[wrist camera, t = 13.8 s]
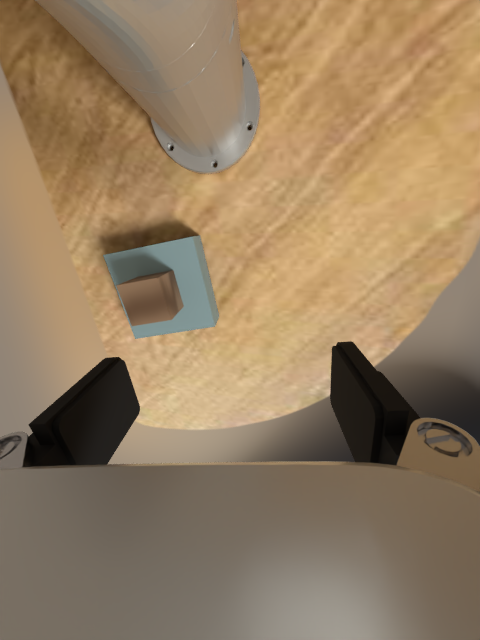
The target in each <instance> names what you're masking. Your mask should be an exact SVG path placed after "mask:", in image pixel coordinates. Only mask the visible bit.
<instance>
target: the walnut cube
mask: <svg viewBox="0 0 480 640" xmlns="http://www.w3.org/2000/svg"><path fill="white" fill-rule="evenodd" d="M116 287H117V289H118V292H119V294H120V297H121V300H122V302H123V305H124V307H125V310H126V313H127V315H128V318H129V321H130V323H131V326H137V325H143V324H149V323H156V322H162V321H168V320H172V319H173V318H174V317H175V316H176V314H177V313H178V312H179V311H180V310H181V309H182V308H183V307H184V305H183V302H182V299H181V295H180V292H179V288H178V285H177V281H176V278H175V274H174V271H173V270H171V271H165V272H160V273H155V274H149V275H144V276H139V277H136V278H133V279H131V280H128V281H126V282H123V283H121V284H119V285H116Z"/></svg>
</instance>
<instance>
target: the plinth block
mask: <svg viewBox="0 0 480 640" xmlns="http://www.w3.org/2000/svg"><path fill="white" fill-rule="evenodd" d="M103 256H104V259H105V261H106V264H107V266H108V269H109V272H110V274H111V277H112V279H113V282H114V285H115V287H116V285H119V284H121V283H123V282H126V281H128V280H131V279H133V278H136V277H139V276H144V275H149V274H155V273H160V272H165V271H171V270H173V271H174V274H175V278H176V281H177V285H178V288H179V292H180V295H181V299H182V302H183V305H184V307H183V308H182V309H181V310H180V311H179V312H178V313H177V314H176V316H175V317H174V318H173V319H172V320H168V321H162V322H156V323H149V324H143V325H137V326H131V323H130V321H129V318H128V315H127V313H126V310H125V307H124V305H123V302H122V300H121V297H120V294H119V292H118V289H117V287H116V290H117V292H118V295H119V298H120V300H121V303H122V305H123V308H124V311H125V313H126V316H127V318H128V321H129V324H130V326H131V329H132V331H133V334H134V336H135V339H137V338H144V337H150V336H156V335H163V334H169V333H176V332H182V331H189V330H195V329H202V328H208V327H215V325H216V323H217V320H218V318H219V313H218V309H217V305H216V301H215V297H214V292H213V288H212V284H211V280H210V276H209V271H208V267H207V263H206V259H205V255H204V250H203V246H202V242H201V238H200V236H193V237H188V238H183V239H178V240H174V241H169V242H164V243H159V244H154V245H150V246H145V247H140V248H135V249H131V250H126V251H121V252H116V253H111V254H107V255H103Z"/></svg>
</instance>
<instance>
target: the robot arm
mask: <svg viewBox="0 0 480 640" xmlns="http://www.w3.org/2000/svg"><path fill="white" fill-rule="evenodd" d="M35 1H36V2H37V3H38V4H40V5H41V6H42V7H43V8H44V9H45V10H46V11H47V12H48V13H49V14H50V15H52V16H53V17H54V18H55V19H56V20H57V21H58V22H59V23H60V24H61V25H62V26H63V27H64V28H65V29H66V30H67V31H68V32H69V33H70V34H71V35H72V36H73V37H74V38H75V39H76V40H77V41H78V42H79V43H80V44H81V45H82V46H83V47H84V48H85V49H86V50H87V51H88V52H89V53H90V54H91V55H92V56H93V57H94V58H95V59H96V60H97V61H98V62H99V63H100V64H101V65H102V66H103V67H104V69H105V70H106V71H107V72H108V73H109V74H110V75H111V76H112V77H113V78H114V79H115V80H116V81H117V83H118V84H119V85H120V86H121V87H122V88H123V89H124V90H125V91H126V92H127V93H128V94H129V95H130V96H131V97H132V98H133V99H134V100H135V101H136V102H137V103H138V104H139V105H140V106H141V107H142V108H143V110H144V111H145V112H146V113H147V114H148V115H149V116H150V119H151V123H152V126H153V129H154V132H155V135H156V137H157V139H158V140H159V142H160V144H161V146H162V147H163V149H164V150H165V151H166V153H167V154H168V155H169V156H170V157H171V158H172V159H173V160H174V161H175V162H177V163H178V164H179V165H181V166H182V167H184V168H186V169H188V170H190V171H192V172H196V173H200V174H214V173H219V172H222V171H224V170H226V169H229V168H230V167H231V166H233V165H234V164H236V163H237V162H238V161H239V160H240V159H241V158H242V157H243V156H244V155H245V153H246V152H247V150H248V149H249V147H250V145H251V143H252V141H253V139H254V136H255V134H256V130H257V126H258V122H259V112H260V97H259V89H258V84H257V80H256V77H255V73H254V71H253V69H252V66H251V64H250V62H249V60H248V59H247V57H246V56H245V54H244V53H243V52H242V50H241V45H240V34H239V23H238V11H237V0H35ZM242 66H243V67H242ZM249 126H250V127H252V130H250V131H249V130H248V127H249ZM172 147H174V149H173V151H171V148H172ZM215 163H217V167H216V168H215V167H214V164H215ZM330 399H331V405H332V408H333V410H334V412H335V415H336V417H337V420H338V422H339V424H340V427H341V429H342V432H343V434H344V436H345V439H346V441H347V444H348V446H349V448H350V451H351V453H352V455H353V458H354V460H355V462H328V461H327V462H223V463H222V462H218V463H217V462H216V463H215V462H214V463H163V464H162V463H158V464H113V465H112V464H109V465H107V464H108V462H109V460H110V459H111V457H112V455H113V454H114V452H115V451H116V449H117V448H118V446H119V444H120V443H121V441H122V440H123V438H124V436H125V435H126V433H127V432H128V430H129V429H130V427H131V425H132V424H133V422H134V421H135V419H136V417H137V416H138V414H139V411H140V406H139V403H138V400H137V397H136V394H135V391H134V388H133V385H132V382H131V379H130V376H129V373H128V370H127V367H126V364H125V361H124V360H121V358H119V357H112V358H105V359H104V360H102V361H101V362H100V363H99V364H98V365H96V367H94V368H93V369H92V370H91V371H90V372H88V373H87V374H86V375H85V376H84V377H83V378H82V379H80V380H79V381H78V382H77V383H76V384H75V385H74V386H72V387H71V388H70V389H69V390H68V391H67V392H65V393H64V394H63V395H62V396H61V397H60V398H59V399H57V400H56V401H55V402H54V403H53V404H52V405H51V406H49V407H48V408H47V409H46V410H45V411H44V412H42V413H41V414H40V415H39V416H38V417H37V418H36V419H34V420H33V421H32V422H31V423H30V424H29V426H30V428H31V430H32V432H33V433H32V434H31V435H30V436H29V437H28V435H27V434H26V433H25V432H15V433H11V434H8V435H5V436H2V437H0V640H480V446H479V445H478V443H477V442H476V440H475V439H474V438H473V437H471V436H470V435H469V434H468V433H467V432H466V431H464V430H462V429H461V428H459V427H457V426H456V425H453V424H451V423H449V422H446V421H443V420H439V419H434V418H420V417H419V416H418V415H417V413H416V412H415V411H414V410H413V409H412V407H411V406H410V405H409V404H408V403H407V402H406V400H405V399H404V398H403V397H402V396H401V395H400V394H399V392H398V391H397V390H396V389H395V388H394V387H393V385H392V384H391V383H390V382H389V381H388V379H387V378H386V377H385V376H384V375H383V374H382V373H381V372H379V371H376V369H375V368H374V367H373V366H372V365H371V363H370V362H369V361H368V360H367V358H366V357H365V356H364V355H363V354H362V352H361V351H360V350H359V349H358V348H357V346H356V345H355V344H354V343H353V342H338V343H337V345H336V346H333V347H332V365H331V394H330Z"/></svg>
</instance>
